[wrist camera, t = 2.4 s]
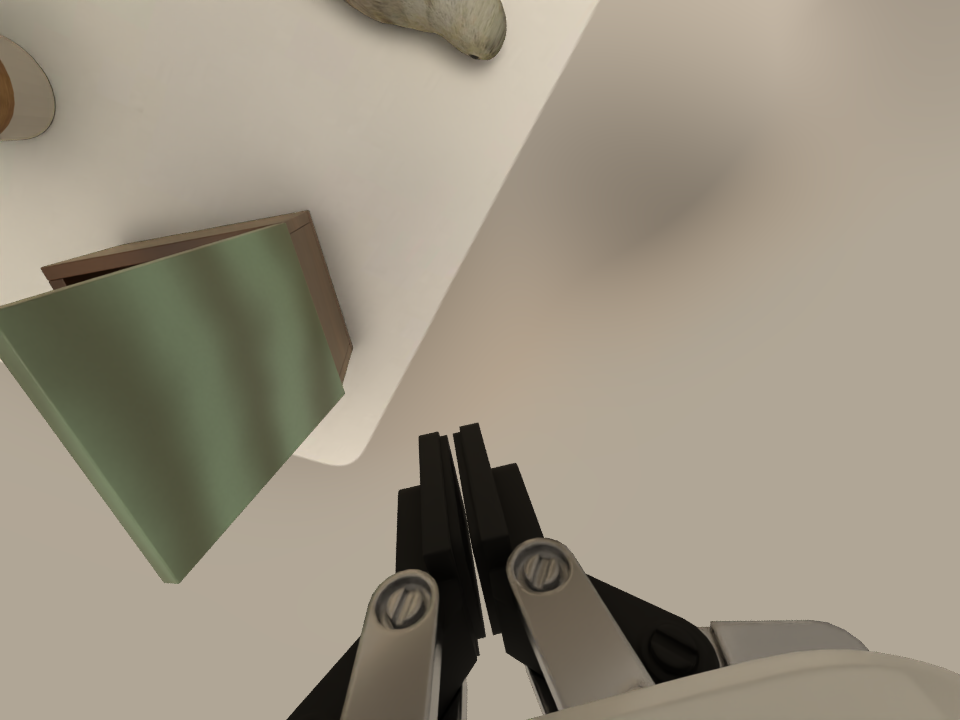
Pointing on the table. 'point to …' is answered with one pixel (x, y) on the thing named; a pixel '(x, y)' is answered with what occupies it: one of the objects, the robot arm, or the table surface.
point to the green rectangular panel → (179, 384)
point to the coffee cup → (22, 94)
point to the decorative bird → (446, 21)
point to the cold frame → (169, 245)
